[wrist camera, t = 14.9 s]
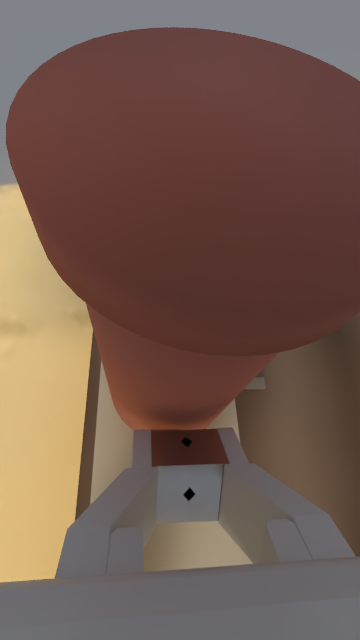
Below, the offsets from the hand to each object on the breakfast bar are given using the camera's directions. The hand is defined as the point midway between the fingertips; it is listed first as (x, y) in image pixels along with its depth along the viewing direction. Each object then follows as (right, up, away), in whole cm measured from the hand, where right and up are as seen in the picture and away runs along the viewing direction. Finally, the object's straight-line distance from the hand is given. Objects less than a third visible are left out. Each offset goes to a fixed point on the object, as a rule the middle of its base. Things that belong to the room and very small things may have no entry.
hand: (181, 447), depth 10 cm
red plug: (-1, +1, +4) cm, 5 cm away
